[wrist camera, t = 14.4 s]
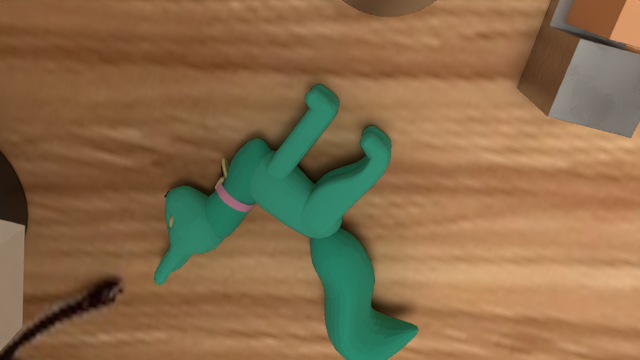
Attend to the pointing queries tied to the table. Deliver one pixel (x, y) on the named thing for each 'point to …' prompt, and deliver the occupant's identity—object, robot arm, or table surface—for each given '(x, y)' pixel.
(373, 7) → the bobbin
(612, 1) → the orange brown block
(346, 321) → the toy
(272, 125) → the table surface
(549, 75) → the metal block
